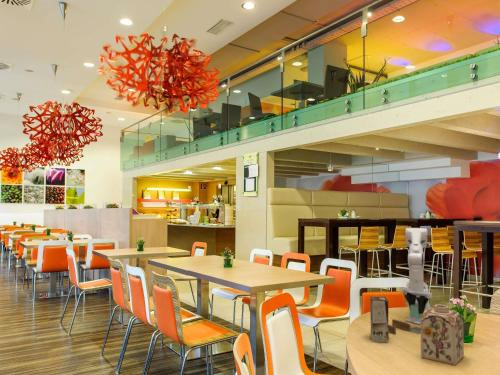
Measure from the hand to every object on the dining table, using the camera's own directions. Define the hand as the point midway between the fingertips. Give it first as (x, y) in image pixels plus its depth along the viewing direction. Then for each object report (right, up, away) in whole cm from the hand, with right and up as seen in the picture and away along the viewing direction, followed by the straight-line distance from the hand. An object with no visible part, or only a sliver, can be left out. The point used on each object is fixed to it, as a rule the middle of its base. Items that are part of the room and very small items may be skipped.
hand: (416, 312), depth 184 cm
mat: (0, -8, 0) cm, 8 cm away
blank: (+1, -2, 0) cm, 2 cm away
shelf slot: (-10, -8, 0) cm, 13 cm away
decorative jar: (-4, -6, -33) cm, 34 cm away
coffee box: (-20, -7, -12) cm, 24 cm away
